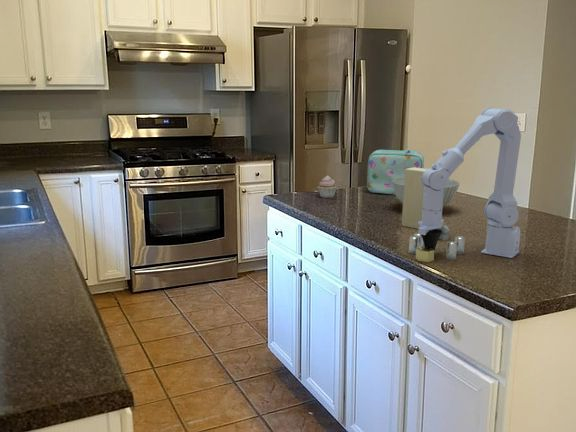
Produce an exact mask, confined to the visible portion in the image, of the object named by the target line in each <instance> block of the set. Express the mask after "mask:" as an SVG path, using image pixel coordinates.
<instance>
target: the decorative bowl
mask: <svg viewBox="0 0 576 432" xmlns="http://www.w3.org/2000/svg"><path fill="white" fill-rule="evenodd" d="M404 179H405V177H400V178H395V179H393V180H392V181H391V182H392V187H393V190H394V192H395V194H396V195H395V196H396V198H397V200H398V201H399V202H401V204H402V205H403V196H404ZM459 187H460V182H459V181H457V180H454V179H451V178H449V180H448V184H447V186H445V187H444V192H443V208H445V207H446V206H447V205H448V204H449V203H450V202H451V201H452V200H453V198H454V197H455V195H456V194H457V191H458V189H459Z"/></svg>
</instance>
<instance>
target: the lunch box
mask: <svg viewBox="0 0 576 432" xmlns="http://www.w3.org/2000/svg"><path fill="white" fill-rule="evenodd" d="M367 160H368V161H367V176H366V177H367V178H366V186H367V190H368V191H369V192H370V193H372V194H383V195H393V196H396V194H395V192H394V190H393V187H392V182H391V181H392V180H393V179H395V178H400V177H405V169H408V168H414V167H416V168H424V169H426V168H425V166H424V165H425V157H424V154H423V153H421V152H420V151H418V150H412V149H411V148H409V149H406V150H405V149H404V150H395V149H377V150H374V151H373V152H372V153H371V154H370V155H369V157H368V159H367Z"/></svg>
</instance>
